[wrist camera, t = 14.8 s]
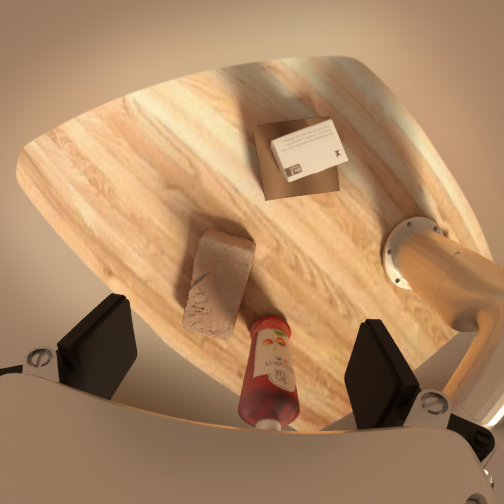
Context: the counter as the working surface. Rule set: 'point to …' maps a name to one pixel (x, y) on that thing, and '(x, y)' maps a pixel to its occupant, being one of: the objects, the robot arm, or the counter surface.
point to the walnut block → (271, 174)
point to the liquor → (269, 377)
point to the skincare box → (308, 150)
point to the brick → (217, 283)
